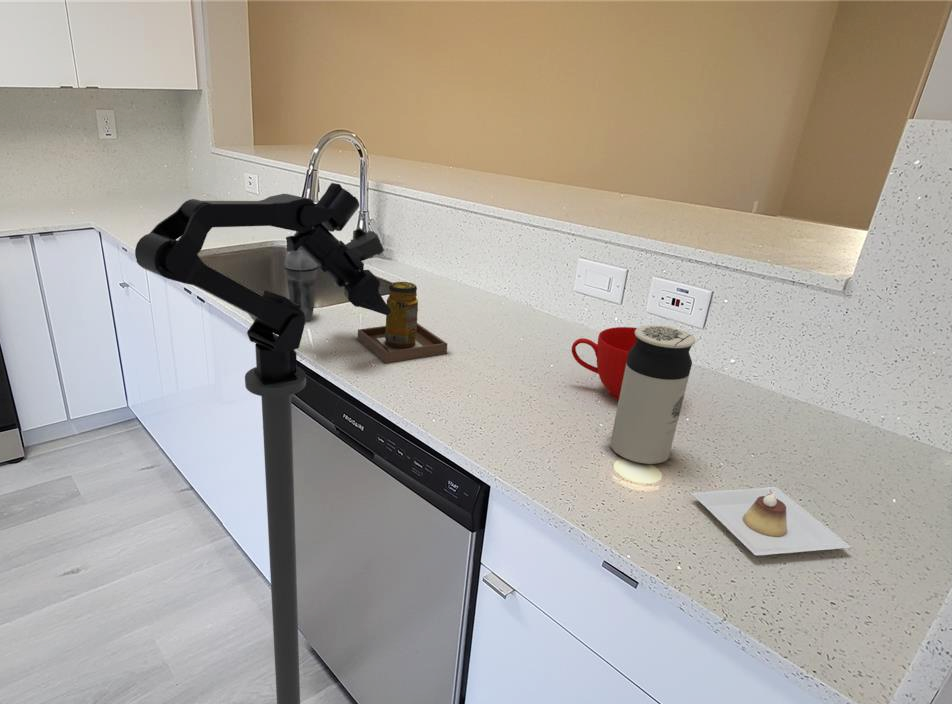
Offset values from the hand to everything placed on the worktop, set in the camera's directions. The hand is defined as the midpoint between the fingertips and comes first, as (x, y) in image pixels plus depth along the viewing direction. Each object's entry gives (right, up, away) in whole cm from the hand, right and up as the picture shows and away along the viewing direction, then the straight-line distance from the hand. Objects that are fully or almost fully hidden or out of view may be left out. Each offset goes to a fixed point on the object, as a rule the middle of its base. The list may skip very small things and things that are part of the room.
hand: (382, 305), depth 123 cm
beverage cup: (-17, -1, +19) cm, 25 cm away
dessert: (+45, -31, -46) cm, 71 cm away
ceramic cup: (+40, -17, -13) cm, 45 cm away
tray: (+4, -8, +5) cm, 10 cm away
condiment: (+4, -8, +4) cm, 9 cm away
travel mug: (+36, -24, -30) cm, 53 cm away
